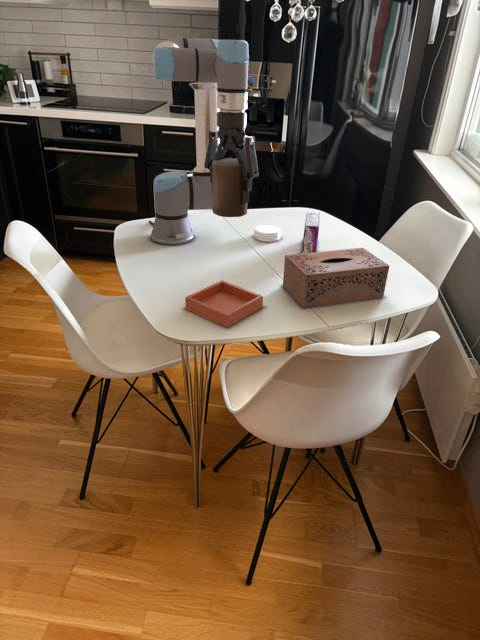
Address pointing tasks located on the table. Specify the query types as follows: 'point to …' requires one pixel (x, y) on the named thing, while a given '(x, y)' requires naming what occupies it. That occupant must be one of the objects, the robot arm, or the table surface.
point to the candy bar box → (310, 232)
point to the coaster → (267, 233)
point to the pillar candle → (227, 188)
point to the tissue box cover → (334, 277)
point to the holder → (224, 303)
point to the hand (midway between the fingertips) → (230, 199)
